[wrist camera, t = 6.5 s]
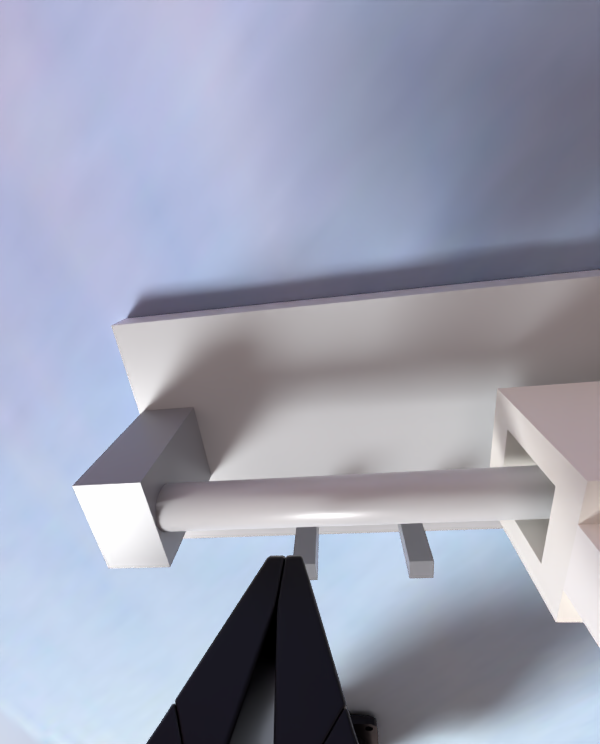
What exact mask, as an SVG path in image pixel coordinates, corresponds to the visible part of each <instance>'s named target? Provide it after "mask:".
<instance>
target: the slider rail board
mask: <svg viewBox="0 0 600 744" xmlns="http://www.w3.org/2000/svg"><path fill="white" fill-rule="evenodd" d="M112 329H113V332H114V335H115V339H116V342H117V345H118V348H119V351H120V354H121V357H122V360H123V363H124V366H125V369H126V373H127V376H128V379H129V382H130V385H131V388H132V391H133V394H134V397H135V400H136V403H137V406H138V410H139V413H140V415H139V416H138V417H137V418H136V419H135V420H134V421H133V423H132V424H131V425H130V426H129V427H128V428H127V429H126V430H125V431H124V432H123V433H122V434H121V435H120V436H119V437H118V438H117V439H116V440H115V442H114V443H113V444H112V445H111V446H110V447H109V448H108V449H107V450H106V451H105V452H104V453H103V454H102V455H101V456H100V457H99V458H98V459H97V460H96V462H95V463H94V464H93V465H92V466H91V467H90V468H89V469H88V470H87V471H86V472H85V473H84V474H83V475H82V476H81V477H80V478H79V479H78V481H77V482H76V483H75V484H74V485H73V486H72V487H73V489H74V491H75V493H76V496H77V498H78V500H79V502H80V505H81V507H82V509H83V511H84V514H85V516H86V518H87V520H88V523H89V525H90V527H91V530H92V532H93V534H94V536H95V539H96V541H97V543H98V545H99V548H100V550H101V552H102V554H103V557H104V559H105V561H106V564H107V566H108V568H152V567H170V566H171V564H172V562H173V559H174V557H175V555H176V553H177V551H178V548H179V546H180V544H181V542H182V539H184V538H216V537H248V536H279V535H295V544H294V554H293V555H301V556H302V557H303V559H304V563H305V566H306V569H307V573H308V576H309V579H310V580H317V578H318V546H319V534H342V533H374V532H399V533H400V538H401V542H402V547H403V551H404V556H405V560H406V565H407V569H408V574H409V578H433V574H434V560H433V557H432V553H431V550H430V547H429V543H428V540H427V537H426V534H425V531H437V530H468V529H500V528H503V527H502V525H501V523H500V521H499V520H528V519H550V514H551V509H552V503H553V498H554V492H555V485H554V484H553V483H552V482H551V481H550V479H549V478H548V477H547V476H546V475H545V473H544V472H543V471H542V470H541V469H540V467H539V466H538V465H529V466H508V467H490V459H491V449H492V438H493V428H494V417H495V407H496V397H497V388H511V387H525V386H539V385H553V384H567V383H580V382H594V381H600V269H598V270H589V271H579V272H569V273H560V274H550V275H540V276H531V277H521V278H511V279H502V280H492V281H482V282H473V283H463V284H453V285H444V286H434V287H424V288H414V289H405V290H395V291H385V292H376V293H366V294H356V295H347V296H337V297H327V298H318V299H308V300H298V301H289V302H279V303H269V304H260V305H250V306H240V307H231V308H221V309H211V310H202V311H192V312H182V313H173V314H163V315H153V316H144V317H134V318H126V319H124V320H122V321H120V322H118V323H116V324H114V325H112Z"/></svg>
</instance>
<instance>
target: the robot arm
mask: <svg viewBox="0 0 600 744" xmlns="http://www.w3.org/2000/svg"><path fill="white" fill-rule="evenodd" d="M175 704H176V705H175ZM175 704H172V705H171V707H170V709H169V710H168V712H167V713H166V715H165V716H164V718H163V719H162V721H161V723H160V724H159V726H158V727H157V729H156V730H155V731H154V733H153V734H152V736H151V737H150V739H149V740H148V742H147V743H146V744H378V732H377V721H376V719H375V718H374V717H372V716H355V715H350V714H349V711H348V709H347V705H346V701H345V698H344V694H343V691H342V688H341V684H340V681H339V677H338V674H337V671H336V667H335V664H334V661H333V657H332V654H331V650H330V647H329V644H328V640H327V637H326V633H325V630H324V627H323V623H322V620H321V617H320V613H319V610H318V606H317V603H316V600H315V596H314V593H313V590H312V586H311V583H310V579H309V576H308V573H307V569H306V566H305V563H304V559H303V557H302V556H301V555H289V556H287V557H286V558H285V556H269V557H268V558H267V559H266V561H265V562H264V564H263V566H262V567H261V569H260V570H259V572H258V573H257V575H256V576H255V578H254V579H253V581H252V582H251V584H250V586H249V587H248V589H247V590H246V592H245V593H244V595H243V596H242V598H241V599H240V601H239V603H238V604H237V606H236V607H235V609H234V610H233V612H232V613H231V615H230V616H229V618H228V619H227V621H226V623H225V624H224V626H223V627H222V629H221V630H220V632H219V633H218V635H217V636H216V638H215V640H214V641H213V643H212V644H211V646H210V647H209V649H208V650H207V652H206V653H205V655H204V656H203V658H202V660H201V661H200V663H199V664H198V666H197V667H196V669H195V670H194V672H193V673H192V675H191V676H190V678H189V680H188V681H187V683H186V684H185V686H184V687H183V689H182V690H181V692H180V693H179V695H178V697H177V698H176V700H175Z"/></svg>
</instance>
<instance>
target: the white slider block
mask: <svg viewBox="0 0 600 744" xmlns="http://www.w3.org/2000/svg"><path fill="white" fill-rule="evenodd" d="M529 465H538V466H539V467H540V469H541V470H542V471H543V472H544V473H545V475H546V476H547V477H548V478H549V479H550V481H551V482H552V483H553V484H554V485H555V492H554V498H553V503H552V509H551V514H550V519H528V520H499V521H500V523H501V525H502V527H503V528H504V530H505V532H506V534H507V536H508V537H509V539H510V541H511V543H512V545H513V546H514V548H515V550H516V552H517V554H518V555H519V557H520V559H521V561H522V562H523V564H524V566H525V568H526V570H527V571H528V573H529V575H530V577H531V579H532V580H533V582H534V584H535V586H536V588H537V589H538V591H539V593H540V595H541V596H542V598H543V600H544V602H545V604H546V605H547V607H548V609H549V611H550V613H551V614H552V616H553V618H554V620H555V622H584V624H585V625H586V627H587V629H588V630H589V632H590V633H591V635H592V637H593V638H594V640H595V641H596V643H597V644H598V646H599V648H600V381H594V382H580V383H567V384H553V385H539V386H525V387H511V388H497V397H496V407H495V417H494V428H493V438H492V449H491V459H490V467H508V466H529Z"/></svg>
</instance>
